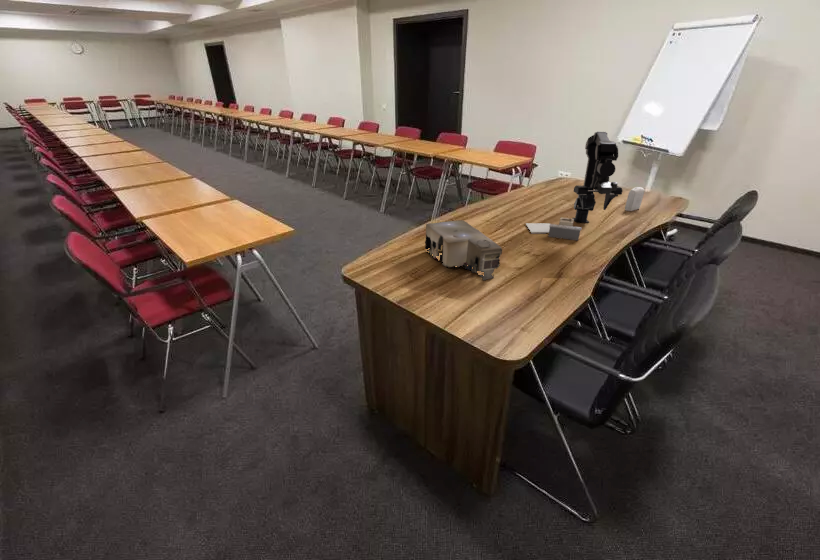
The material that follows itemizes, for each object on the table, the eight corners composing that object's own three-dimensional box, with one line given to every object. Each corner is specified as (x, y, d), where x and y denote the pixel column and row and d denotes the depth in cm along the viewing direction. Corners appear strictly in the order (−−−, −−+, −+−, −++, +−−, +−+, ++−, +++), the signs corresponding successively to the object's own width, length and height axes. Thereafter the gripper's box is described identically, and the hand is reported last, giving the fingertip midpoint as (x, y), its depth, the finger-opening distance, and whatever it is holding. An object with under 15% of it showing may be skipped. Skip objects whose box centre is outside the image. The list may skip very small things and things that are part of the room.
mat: (525, 224, 192) (525, 223, 191) (549, 224, 191) (549, 223, 191) (530, 233, 181) (531, 231, 181) (556, 233, 180) (556, 231, 180)
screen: (548, 234, 179) (549, 223, 177) (579, 238, 174) (581, 227, 172) (547, 236, 177) (549, 225, 174) (578, 240, 172) (581, 229, 170)
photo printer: (633, 206, 216) (639, 185, 210) (640, 208, 213) (647, 186, 207) (623, 210, 211) (628, 187, 205) (630, 212, 208) (636, 189, 202)
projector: (455, 285, 136) (458, 251, 130) (423, 251, 163) (425, 222, 157) (500, 279, 141) (505, 245, 135) (462, 247, 168) (465, 218, 162)
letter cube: (558, 229, 186) (560, 217, 183) (571, 230, 184) (573, 218, 181) (557, 233, 181) (559, 220, 178) (570, 234, 179) (573, 222, 176)
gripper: (586, 176, 155) (579, 213, 161) (633, 176, 154) (623, 214, 161) (576, 172, 165) (569, 207, 171) (620, 172, 164) (611, 208, 171)
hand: (593, 209), depth 168 cm, fingers open, 9 cm apart
